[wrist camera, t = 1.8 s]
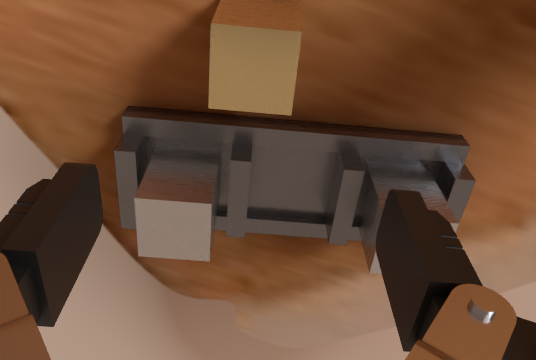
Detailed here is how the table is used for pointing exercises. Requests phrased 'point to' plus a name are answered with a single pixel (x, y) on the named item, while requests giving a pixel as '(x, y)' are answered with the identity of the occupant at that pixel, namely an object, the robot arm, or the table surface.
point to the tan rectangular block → (254, 56)
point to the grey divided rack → (274, 179)
